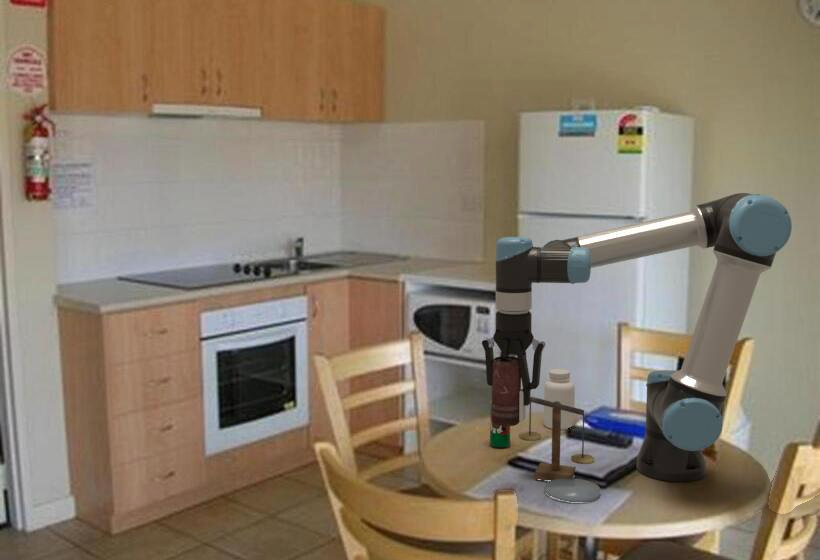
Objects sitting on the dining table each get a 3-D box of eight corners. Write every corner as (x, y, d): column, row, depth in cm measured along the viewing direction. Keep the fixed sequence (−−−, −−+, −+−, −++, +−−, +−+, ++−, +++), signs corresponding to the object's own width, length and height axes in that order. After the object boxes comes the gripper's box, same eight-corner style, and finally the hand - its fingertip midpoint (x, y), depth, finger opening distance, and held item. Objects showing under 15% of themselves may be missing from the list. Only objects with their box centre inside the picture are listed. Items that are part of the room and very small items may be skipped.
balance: (595, 477, 196) (597, 398, 194) (591, 486, 190) (593, 405, 188) (521, 469, 202) (522, 392, 199) (515, 478, 196) (516, 398, 194)
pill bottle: (543, 429, 231) (544, 374, 229) (543, 421, 239) (544, 367, 237) (574, 431, 230) (575, 375, 228) (573, 422, 238) (574, 368, 236)
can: (520, 427, 185) (521, 362, 183) (490, 425, 186) (490, 361, 185) (522, 419, 191) (523, 356, 189) (493, 417, 192) (494, 354, 190)
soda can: (513, 444, 219) (514, 397, 218) (504, 450, 215) (505, 402, 213) (495, 441, 222) (495, 394, 220) (486, 446, 218) (486, 399, 216)
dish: (603, 486, 190) (603, 481, 190) (596, 506, 180) (596, 501, 179) (550, 480, 194) (550, 475, 194) (540, 499, 183) (540, 494, 183)
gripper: (555, 309, 186) (554, 417, 189) (480, 306, 191) (479, 410, 194) (549, 315, 179) (548, 427, 182) (470, 311, 184) (470, 420, 187)
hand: (512, 418), depth 188 cm, fingers open, 3 cm apart
